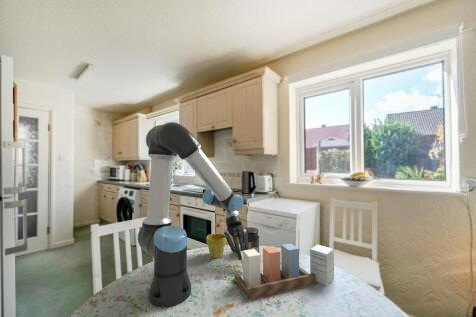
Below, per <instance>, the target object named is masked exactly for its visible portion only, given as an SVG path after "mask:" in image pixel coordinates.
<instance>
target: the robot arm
mask: <svg viewBox="0 0 476 317" xmlns="http://www.w3.org/2000/svg"><path fill="white" fill-rule="evenodd" d="M145 144H146V146H147V148H148V149H147V150H148V151H147V156H148V157H149V158H150V160H151V163H150V175H149V188H148V198H147V199H148V200H147V212H146V217H145V218H144V219H143V220H142V224H141V225H142V226H141V227H140V229H139V230H138V233H137V242H138V246H139V247H140V248H141V249H142V250H143V251H144V252H145V253H147V254H148V255H149V256H150V257H151V258H153V276H152V278H151V283H150V286H149V287H148V288H149V289H148V301H149V303H150V304H152V305H153V306H155V307H161V308H164V307H167V308H168V307H173V306H176V305H179V304H181V303H183V302H184V301H186V300H187V299H188V298H189V296H191V293H192V282H191V279H190V276H189V274H188V270H187V265H188V263H187V262H188V261H187V260H188V256H187V255H188V254H187V252H188V248H187V247H188V234H187V232H186V230H185V229H184V228H183V227H180V226H175V225H172V224H173V219H171V217H170V216H169V212H170V202H171V201H170V199H171V189H172V188H171V187H172V174H173V161H175V159H177V156H178V157H179V159H180V160H183V161H185V162H186V163H187V164H188V165H189V167H191V169H192V170H193V172H194V173H195V174H197V176H198V177H199V179H201V181H202V182H203V184H205V185H206V187H207V188H208V189H206V190H204V192H203V195H202V202H203V203H204V204H206V205H208V206H212V207H216V208H220V209H222V211H223V217H224V219H225V224H226V231H224V232H223V233H222V234H223V236H224V237H225V238H226V243H228V246H229V247H230V250H231V252H232V254H234V253H235V254H236V255H237V259H238V261H240V263H241V268H242V269H243V251H244V250H248V248H249V245H248V232H249V230H248V229H247V230H246V229H244V228H245V227H244V226H243V223H242V220H241V216H240V211H241V209H242V208H243V206H244V198H243V197H242V196H241V195H240V194H235V192H234V191H233V190H232V188H231V187H230V186H229V184H228V183H227V182H226V181H225V179H224V177H222V175H221V174H220V173H219V171H218V169H216V167H215V166H214V165H213V163H212V162H211V160H210V159H209V158H208V157H207V155H206V154H205V153H204V152H203V150H202V149H201V146H202V145H201V143H200V142H199V141H198V140H197V138H196V137H195V135H194V134H193V133H192V132H191V131H190V130H189V129H188V128H187V127H185V126H184V125H182V124H181V123H178V122H174V121H171V122H170V121H169V122H166V123H164V124H159V125H155V126H153V127H152V128H151V129H149V130H148V132H147V134H146V136H145ZM242 232H244V242H243V239H242ZM231 237H232V238H231ZM244 243H245V246H244ZM240 248H241V251H240Z"/></svg>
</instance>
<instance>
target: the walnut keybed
mask: <svg viewBox="0 0 476 317" xmlns="http://www.w3.org/2000/svg"><path fill="white" fill-rule="evenodd" d="M280 278H281V280H279V281H274V282H269V281H268V280H267V279H266V278H265V277H264V276H263V272H261V284H260V285H256V286H251V287H248V286H247V285H246V283H245V282H244V280H243V277H242V276H241V275H240V273H239V272H235V273H234V280H235V281H236V283H237V286H238V287H239V288H240V290H241V291H242V294H244V296H245V298H246V299H247V300H250V301H251V300H253V299H258V298H262V297H267V296H271V295H274V294H275V295H276V294H278V293H279V294H280V293H283V292H288V291H292V290H296V289H300V288H305V287H310V286H313V285H316V281H315V274H314V273H312V274H310V273H309V272H308V271H306V269H303V268H302V267H301V266H300V265H299V276H298V277H293V278H289V277H288V276H287V275H286V274H285V273H283V272H282V271H281V269H280Z"/></svg>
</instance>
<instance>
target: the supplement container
mask: <svg viewBox="0 0 476 317" xmlns="http://www.w3.org/2000/svg"><path fill="white" fill-rule="evenodd" d="M244 229H246V230H247V229H248V230H249V232H248V245H249V248H248V250H251V249H255V250H256V251H257V252H258V253H259V252H260V235H259V228H256V227H253V226H252V227H250V226H249V227H244ZM242 239H243V242H244V232H242ZM244 246H245V243H244ZM240 251H241V248H240ZM259 254H260V253H259Z"/></svg>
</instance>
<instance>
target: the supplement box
mask: <svg viewBox="0 0 476 317" xmlns="http://www.w3.org/2000/svg"><path fill="white" fill-rule="evenodd" d="M309 258H310V259H309V262H310V263H309V267H310V268H309V272H310V273H309V274H312V273H314V274H315V282H318V283H319V284H323V285H325V286H328V285H330V283H332V282H333V280H335V249H334V248H332V247H329V246H328V247H327V246H324V245H321V244H316V245H315V246H312V248H310V250H309Z"/></svg>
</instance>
